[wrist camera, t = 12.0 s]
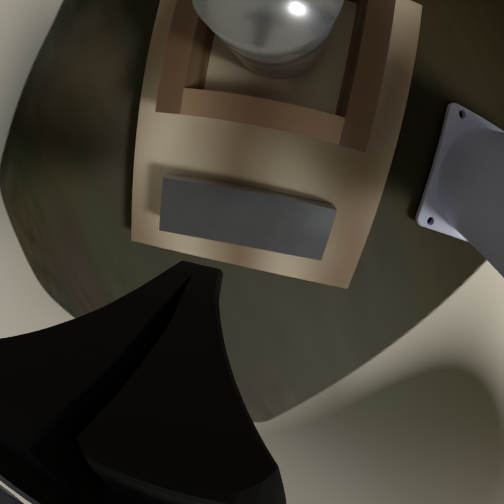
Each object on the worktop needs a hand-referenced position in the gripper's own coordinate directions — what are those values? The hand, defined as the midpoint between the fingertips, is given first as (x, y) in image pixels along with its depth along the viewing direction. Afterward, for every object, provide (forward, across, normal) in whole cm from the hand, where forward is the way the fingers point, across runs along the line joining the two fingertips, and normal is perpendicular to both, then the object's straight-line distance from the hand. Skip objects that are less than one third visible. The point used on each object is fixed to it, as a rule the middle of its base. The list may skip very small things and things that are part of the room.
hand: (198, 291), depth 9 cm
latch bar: (+8, -1, 0) cm, 8 cm away
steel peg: (+8, 0, -10) cm, 12 cm away
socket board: (+9, 0, -6) cm, 11 cm away
